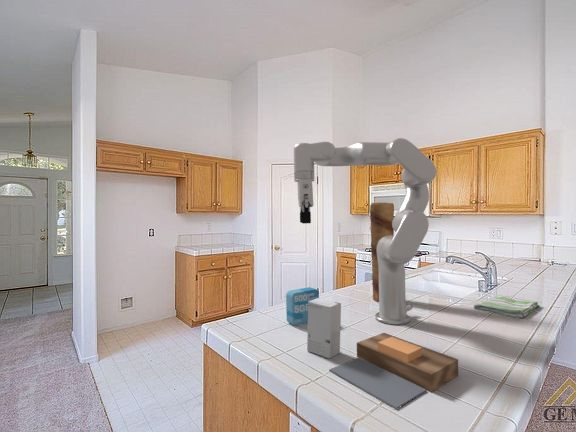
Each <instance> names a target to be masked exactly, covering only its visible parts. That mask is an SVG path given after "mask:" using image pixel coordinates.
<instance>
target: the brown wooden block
mask: <svg viewBox="0 0 576 432" xmlns="http://www.w3.org/2000/svg"><path fill="white" fill-rule="evenodd" d="M390 337H394V338H397V339H399V340H402V341H405V342H408V343H410V344H413V345H416V346H419V347H421V348H422V356H420V357H418V358H416V359H414V360H412V361H410V362H406V361H403V360H401V359H399V358H396V357H394V356H391V355H389V354H387V353H384V352H382V351H380V350H378V342H380V341H382V340H385V339H387V338H390ZM358 357H359V358H361V359H363V360H365V361H367V362H369V363H371V364H374V365H376V366H378V367H380V368H382V369H384V370H386V371H388V372H390V373H392V374H395V375H397V376H399V377H401V378H403V379H405V380H407V381H409V382H411V383H414V384H416V385H418V386H420V387H422V388H424V389H426V392H427V391H428V392H429V393H434V392H435V391H437V390H438V389H440V388H441V387H443V386H444V385H446V384H447V383H449V382H450V381H452V380H453V379H456V378H457V377H459V359H458V358H455V357H453V356H449V355H448V354H445V353H442V352H438V351H436V350H434V349H431V348H427V347H424V346H422V345H419V344H416V343H414V342H410V341H408V340H405V339H403V338H400V337H396V336H394V335H391V334H388V333H385V332H382V333H378V334H377V335H374V336H371V337H368V338H366V339H363V340H361V341H357V342H356V358H358ZM439 387H440V388H439Z"/></svg>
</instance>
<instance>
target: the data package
mask: <svg viewBox="0 0 576 432" xmlns="http://www.w3.org/2000/svg"><path fill="white" fill-rule="evenodd" d="M317 298H320V293H319V290H318V289H316V288H313V287H311V286H309V287H302V288H298V289H292V290H288V291H287V292H286V294H285V299H286V300H285V302H286V303H285V304H286V305H285V306H286V308H285V309H286V310H285V311H286V312H285V313H286V322H287V323H289V324H291V325H293V326H295V327H297V326H300V325H301V326H302V325H305V324H308V301H311V300H314V299H317Z"/></svg>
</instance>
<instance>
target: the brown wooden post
mask: <svg viewBox="0 0 576 432" xmlns="http://www.w3.org/2000/svg"><path fill="white" fill-rule="evenodd" d="M369 217H370V241H371V242H370V252H371V269H372V270H371V271H372V276H371V278H372V279H371V280H372V283H371V284H372V286H371V287H372V299H373V301H374V302H376V303H379V267H378V258H377V244H378V242H379V240H380V239H381V238H383V237H384V236H388V235H393V236H394V235H395V231H394V229H393V227H392V221H393V218H394V217H395V205H394V203H392V202H383V201H382V202H371V203H370V205H369Z"/></svg>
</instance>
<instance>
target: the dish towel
mask: <svg viewBox="0 0 576 432" xmlns="http://www.w3.org/2000/svg"><path fill="white" fill-rule="evenodd" d="M538 303H539V302H538V301H529V300H528V301H525V300H517V299H513V298H510V297H504V296H495V297H492V298H490V299H487V300H486V301H483V302H481V303H476V304H474V305H473V309H475V310H476V311H480V312H485V313H491V314H494V315H495V314H496V315H500V316H505V317H510V318H514V319H519V320H521V319H522V318H525V317H526V316H528V315H529V314H531V313H533V312H535V311H536V310H538V309H539V308H540V305H539V304H538Z"/></svg>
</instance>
